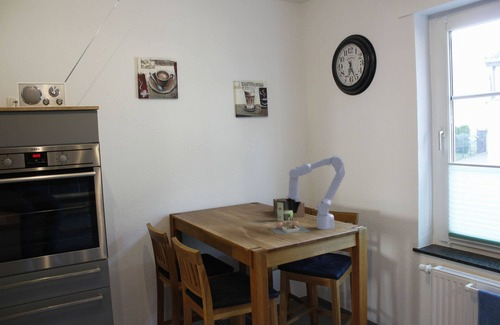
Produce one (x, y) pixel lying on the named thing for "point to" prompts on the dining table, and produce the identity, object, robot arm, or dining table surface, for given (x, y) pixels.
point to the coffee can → (283, 211)
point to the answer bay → (291, 229)
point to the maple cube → (287, 224)
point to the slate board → (302, 229)
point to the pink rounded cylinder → (295, 224)
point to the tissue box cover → (295, 215)
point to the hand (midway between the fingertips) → (292, 211)
